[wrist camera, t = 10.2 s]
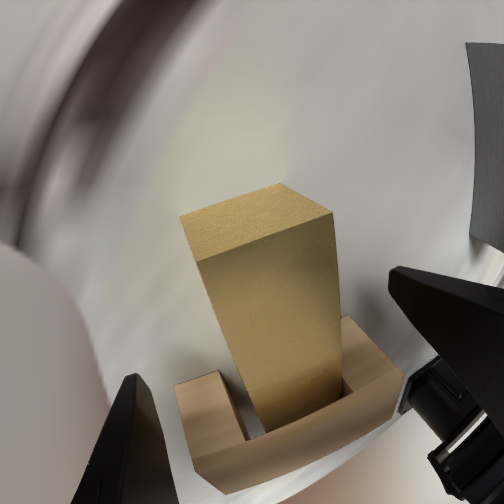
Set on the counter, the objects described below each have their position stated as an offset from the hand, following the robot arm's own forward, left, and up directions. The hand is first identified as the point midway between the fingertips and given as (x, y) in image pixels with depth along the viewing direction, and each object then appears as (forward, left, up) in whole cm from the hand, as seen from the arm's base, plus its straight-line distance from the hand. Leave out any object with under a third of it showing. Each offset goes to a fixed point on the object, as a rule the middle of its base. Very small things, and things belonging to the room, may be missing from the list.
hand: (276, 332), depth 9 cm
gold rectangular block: (-2, 0, -1) cm, 3 cm away
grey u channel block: (+3, -19, -3) cm, 19 cm away
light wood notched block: (-6, 0, -3) cm, 7 cm away
